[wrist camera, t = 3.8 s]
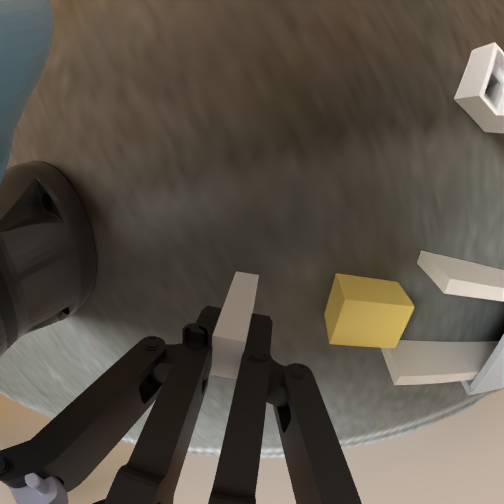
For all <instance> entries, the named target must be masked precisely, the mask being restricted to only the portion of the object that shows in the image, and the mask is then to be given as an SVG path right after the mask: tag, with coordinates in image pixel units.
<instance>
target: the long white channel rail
mask: <svg viewBox="0 0 504 504" xmlns="http://www.w3.org/2000/svg"><path fill="white" fill-rule="evenodd" d="M417 264H418V265H419V266H420V267H421V268H422V269H423V271H424V272H425V273H426V274H427V275H428V276H429V277H430V278H431V279H432V280H433V282H434V283H435V284H436V285H437V286H438V287H439V288H440V289H441V291H442V292H443V293H445V294H452V295H459V296H466V297H474V298H481V299H488V300H496V301H504V270H501V269H497V268H493V267H489V266H485V265H481V264H477V263H473V262H469V261H465V260H460V259H456V258H452V257H447V256H443V255H439V254H434V253H430V252H425V251H421V252H420V255H419V258H418V261H417ZM498 343H499V341H488V342H438V341H411V340H399V342H398V344H397V345H396V347H395V348H381V350H382V353H383V356H384V358H385V361H386V364H387V367H388V370H389V372H390V375H391V378H392V381H393V384H394V385H416V384H433V383H445V382H456V381H464V380H472V379H475V378H476V376H477V375H478V373H479V372H480V371H481V369H482V368H483V366H484V365H485V363H486V362H487V360H488V359H489V357H490V356H491V354H492V353H493V351H494V349H495V348H496V346H497V345H498Z"/></svg>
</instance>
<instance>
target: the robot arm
mask: <svg viewBox="0 0 504 504" xmlns="http://www.w3.org/2000/svg"><path fill="white" fill-rule="evenodd" d="M53 26H54V23H53V12H52V7H51V4H50V2H49V0H0V357H1V356H2V355H3V353H4V352H5V351H6V350H7V349H8V348H9V347H10V346H11V345H12V344H13V343H14V342H15V341H16V340H17V339H18V338H19V337H21V336H22V335H24V334H27V333H29V332H32V331H35V330H37V329H40V328H42V327H45V326H48V325H50V324H53V323H55V322H57V321H60V320H63V319H65V318H68V317H69V316H71V315H72V314H73V313H74V312H76V311H77V310H78V309H79V308H80V307H81V306H82V305H83V304H84V303H85V302H86V301H87V300H88V298H89V297H90V295H91V293H92V291H93V288H94V284H95V279H96V268H97V263H96V250H95V244H94V239H93V234H92V230H91V227H90V224H89V220H88V218H87V215H86V212H85V210H84V208H83V205H82V203H81V201H80V199H79V197H78V195H77V194H76V192H75V190H74V189H73V187H72V186H71V184H70V183H69V182H68V180H67V179H66V178H65V177H64V176H63V175H62V174H61V173H60V172H59V171H58V170H57V169H55V168H54V167H53V166H51V165H49V164H47V163H44V162H40V161H32V162H27V163H23V164H19V165H15V166H13V167H11V168H9V169H7V170H6V168H7V164H8V160H9V155H10V150H11V146H12V140H13V134H14V130H15V128H16V125H17V123H18V121H19V118H20V116H21V114H22V112H23V109H24V107H25V105H26V103H27V101H28V99H29V97H30V95H31V93H32V91H33V89H34V87H35V85H36V83H37V81H38V79H39V77H40V75H41V73H42V70H43V68H44V66H45V64H46V61H47V58H48V55H49V51H50V47H51V43H52V37H53ZM258 278H259V275H255V274H249V273H244V272H238V271H236V273H235V276H234V278H233V281H232V284H231V286H230V289H229V292H228V295H227V297H226V300H225V303H224V305H223V308H217V307H211V306H207V307H206V308H204V309H203V310H202V311H201V313H200V315H199V317H198V320H197V322H196V323H193V324H189V325H187V326H185V327H184V328H183V329H182V330H183V343H181V344H175V345H166V344H165V342H164V340H162V339H161V338H159V337H156V336H149V337H145V338H143V339H142V340H141V341H139V342H138V343H137V344H136V345H135V346H134V347H133V348H132V349H130V350H129V351H128V352H127V353H126V354H125V355H124V356H123V357H121V358H120V359H119V360H118V361H117V362H116V363H115V364H114V365H113V366H111V367H110V368H109V369H108V370H107V371H106V372H105V373H104V374H102V375H101V376H100V377H99V378H98V379H97V380H96V381H95V382H94V383H93V384H91V385H90V386H89V387H88V388H87V389H86V390H85V391H84V392H83V393H81V394H80V395H79V396H78V397H77V398H76V399H75V400H74V401H73V402H71V403H70V404H69V405H68V406H67V407H66V408H65V409H64V410H63V411H62V412H60V413H59V414H58V415H57V416H56V417H55V418H54V419H53V420H52V421H51V422H50V423H49V424H47V425H46V426H45V427H44V428H43V429H42V430H41V431H40V432H39V433H38V434H37V435H36V436H34V437H33V438H32V439H31V440H29V441H26V442H24V443H21V444H18V445H15V446H12V447H10V448H7V449H4V450H1V451H0V481H2V482H3V483H5V484H6V485H7V486H9V488H10V490H11V492H12V494H13V496H14V498H15V500H16V502H17V504H68V495H67V492H69V491H71V490H72V489H74V488H75V487H77V486H78V485H80V484H81V483H82V482H83V481H84V480H85V479H86V478H87V477H88V476H89V475H90V473H91V472H92V471H93V470H94V469H95V468H96V467H97V466H98V464H99V463H100V462H101V461H102V460H103V459H104V458H105V457H106V456H107V455H108V453H109V452H110V451H111V450H112V449H113V448H114V447H115V446H116V444H117V443H118V442H119V441H120V440H121V439H122V438H123V437H124V435H125V434H126V433H127V432H128V431H129V430H130V429H131V427H132V426H133V425H134V424H135V423H136V422H137V421H138V419H139V418H140V417H141V416H142V415H143V414H144V412H145V411H146V410H147V409H148V408H149V407H150V406H151V404H152V403H153V402H154V401H155V400H156V401H155V403H154V405H153V407H152V410H151V412H150V414H149V416H148V418H147V421H146V423H145V425H144V427H143V430H142V432H141V434H140V436H139V439H138V441H137V443H136V445H135V448H134V450H133V452H132V455H131V457H130V459H129V461H128V463H127V464H126V465H124V466H122V467H121V468H120V469H119V470H118V472H117V474H116V477H115V479H114V481H113V483H112V486H111V488H110V490H109V493H108V495H107V497H106V499H103V500H101V501H98V502H95V503H93V504H173V497H174V492H175V489H176V486H177V483H178V479H179V476H180V473H181V470H182V466H183V463H184V460H185V456H186V453H187V450H188V447H189V443H190V440H191V437H192V434H193V430H194V427H195V424H196V421H197V417H198V414H199V411H200V408H201V404H202V401H203V398H204V395H205V391H206V388H207V385H208V376H209V373H210V375H214V376H219V377H224V378H229V379H234V380H237V381H236V386H235V391H234V395H233V400H232V404H231V409H230V413H229V418H228V422H227V427H226V431H225V436H224V440H223V445H222V449H221V454H220V458H219V462H218V467H217V472H216V476H215V480H214V484H213V488H212V492H211V495H210V498H209V502H208V504H256V499H255V492H256V484H257V477H258V469H259V462H260V453H261V445H262V437H263V428H264V419H265V410H266V402H268V403H270V404H273V407H274V411H275V416H276V420H277V424H278V429H279V433H280V437H281V441H282V446H283V450H284V454H285V458H286V463H287V467H288V471H289V475H290V479H291V483H292V487H293V492H294V495H295V500H296V504H362V503H361V500H360V497H359V495H358V492H357V489H356V487H355V484H354V481H353V479H352V476H351V473H350V470H349V468H348V465H347V462H346V460H345V457H344V454H343V452H342V449H341V446H340V444H339V441H338V438H337V436H336V433H335V430H334V428H333V425H332V423H331V420H330V417H329V415H328V412H327V409H326V407H325V404H324V402H323V399H322V396H321V394H320V391H319V389H318V386H317V384H316V381H315V378H314V376H313V373H312V371H311V370H310V368H308V367H307V366H305V365H303V364H299V363H293V364H290V365H288V366H283V365H281V364H279V363H277V362H275V361H274V360H273V359H272V357H271V355H270V346H271V334H272V323H273V322H272V320H271V318H270V316H265V315H259V314H253V309H254V303H255V297H256V291H257V285H258Z"/></svg>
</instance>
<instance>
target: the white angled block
mask: <svg viewBox="0 0 504 504" xmlns="http://www.w3.org/2000/svg"><path fill="white" fill-rule="evenodd" d="M487 85H489V86H488V89H487V92H486V93H485V91H486V88H487ZM454 100H455V101H456V102H457V103H458V104H459V105H460V106H461V107H462V108H463V109H464V110H465V111H466V112H467V113H468V114H469V115H470V116H471V117H472V119H473V120H474V121H475V122H476V123H477V124H478V125H479V126H480V127H481V129H482V130H483V131H484V132H492V133H504V52H503V51H502V50H501V48H500V47H499V46H498V45H497V44H496V43H495V42H494V43H491V44H488V45H485V46H482V47H479V48H476V49H474V50H472V52H471V55H470V58H469V61H468V64H467V66H466V69H465V72H464V75H463V77H462V80H461V82H460V85H459V87H458V90H457V92H456V95H455V97H454Z"/></svg>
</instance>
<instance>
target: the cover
mask: <svg viewBox="0 0 504 504" xmlns="http://www.w3.org/2000/svg"><path fill="white" fill-rule="evenodd" d="M461 383H462V385H463V387H464V389H465V391H466V393H467V395H473V394H478V393H483V392H488V391H492V390H497V389H501V388H504V334H503V336H502V338H501V339H500V341H499V343H498V345H497V346H496V348H495V349H494V351H493V353H492V354H491V356H490V357H489V359H488V360H487V362H486V363H485V365H484V366H483V368H482V369H481V371H480V372H479V373H478V375H477V376H476V378H475V379H472V380H464V381H461Z"/></svg>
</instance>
